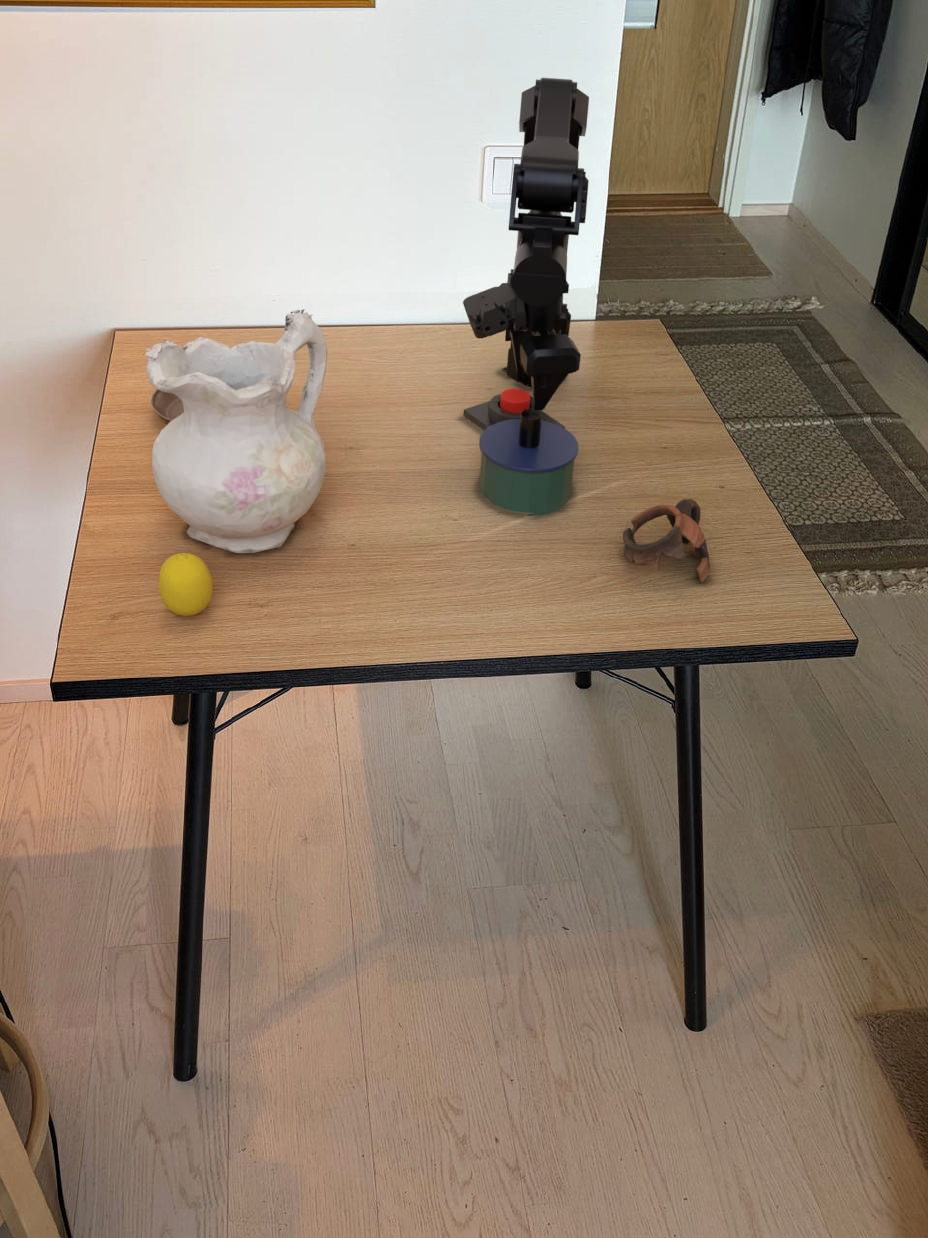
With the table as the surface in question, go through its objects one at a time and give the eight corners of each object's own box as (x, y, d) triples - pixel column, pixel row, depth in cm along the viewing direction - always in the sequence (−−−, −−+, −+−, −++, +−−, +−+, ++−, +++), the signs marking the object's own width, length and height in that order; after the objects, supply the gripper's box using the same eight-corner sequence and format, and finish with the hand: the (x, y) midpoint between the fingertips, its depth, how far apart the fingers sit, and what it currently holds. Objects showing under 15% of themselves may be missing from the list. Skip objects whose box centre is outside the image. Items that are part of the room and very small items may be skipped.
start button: (517, 397, 160) (518, 385, 159) (535, 409, 158) (536, 397, 156) (494, 404, 158) (494, 393, 157) (511, 417, 156) (512, 405, 155)
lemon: (171, 636, 123) (162, 575, 118) (157, 606, 126) (147, 546, 121) (222, 622, 125) (215, 562, 120) (206, 593, 128) (199, 534, 123)
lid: (536, 417, 150) (539, 381, 147) (598, 459, 143) (602, 422, 140) (459, 442, 145) (460, 406, 141) (519, 487, 137) (522, 450, 134)
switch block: (514, 402, 165) (516, 379, 163) (563, 435, 159) (566, 413, 156) (462, 418, 161) (464, 396, 159) (511, 454, 154) (513, 430, 152)
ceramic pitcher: (261, 467, 151) (234, 279, 136) (378, 510, 142) (362, 313, 127) (134, 543, 137) (88, 343, 122) (255, 596, 128) (221, 387, 113)
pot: (532, 458, 154) (536, 415, 150) (588, 498, 147) (594, 454, 143) (462, 483, 148) (464, 439, 144) (517, 526, 141) (521, 481, 137)
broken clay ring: (703, 602, 132) (676, 550, 127) (630, 604, 138) (602, 555, 133) (734, 528, 138) (709, 476, 133) (663, 533, 144) (637, 483, 139)
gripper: (455, 238, 138) (451, 358, 148) (487, 307, 124) (480, 434, 134) (546, 235, 140) (536, 353, 150) (588, 302, 126) (573, 428, 136)
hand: (529, 390), depth 143 cm, fingers open, 9 cm apart
